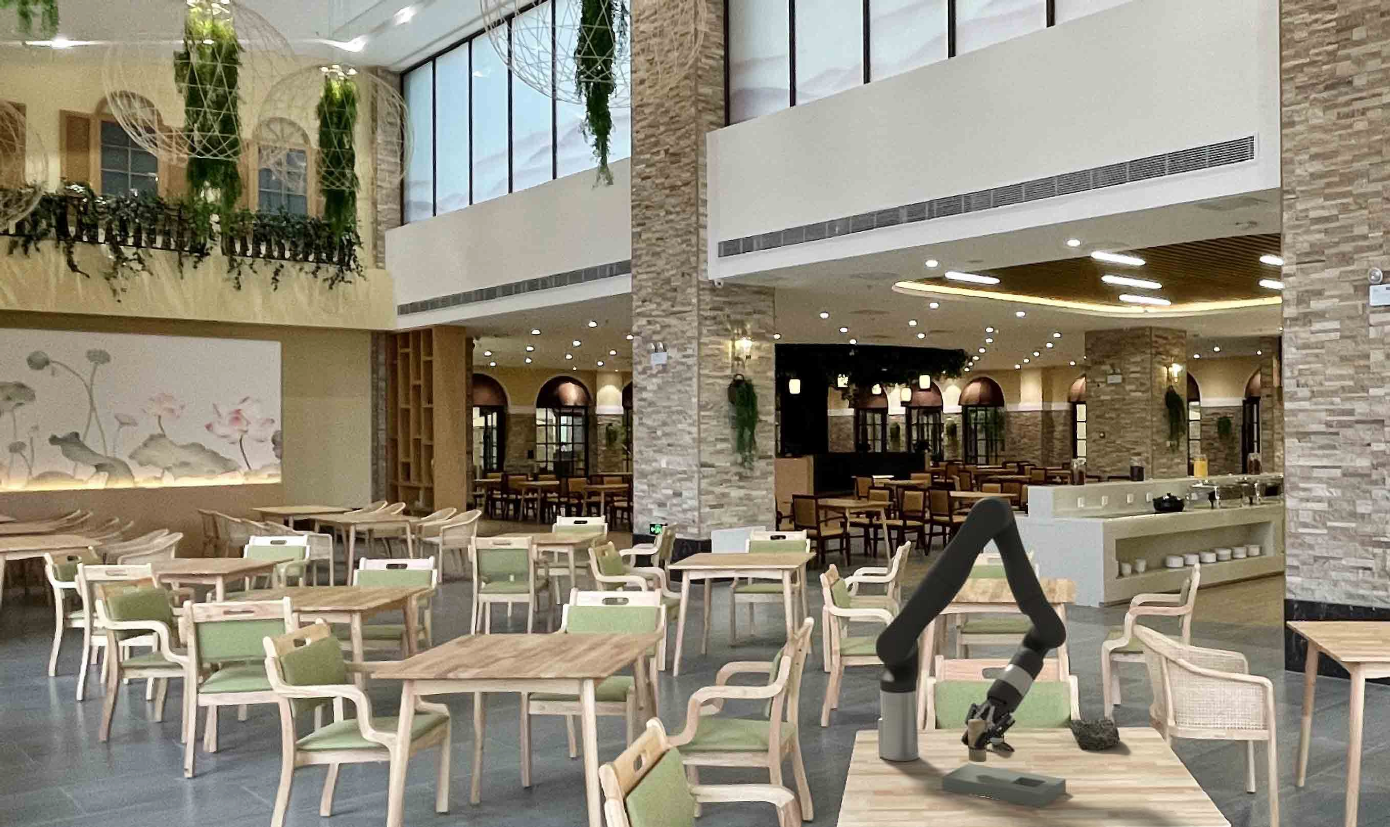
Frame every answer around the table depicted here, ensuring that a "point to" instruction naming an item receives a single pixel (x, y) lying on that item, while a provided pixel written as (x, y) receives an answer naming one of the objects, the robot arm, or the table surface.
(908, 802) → the table surface
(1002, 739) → the toy
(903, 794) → the table surface
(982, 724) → the peg
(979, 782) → the board
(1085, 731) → the rock
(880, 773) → the table surface
